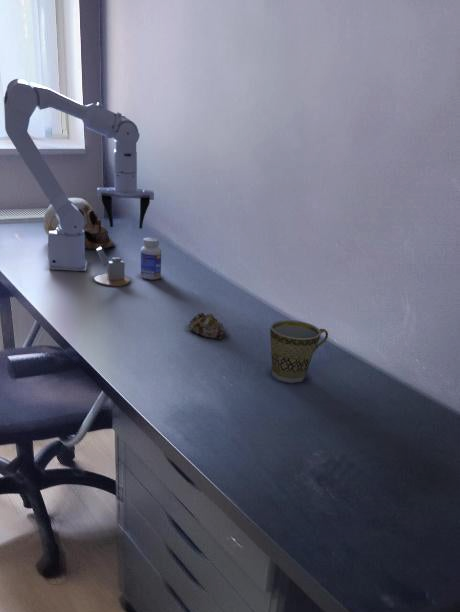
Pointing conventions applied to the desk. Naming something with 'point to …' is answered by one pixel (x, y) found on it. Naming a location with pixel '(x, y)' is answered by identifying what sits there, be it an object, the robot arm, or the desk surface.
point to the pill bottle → (150, 259)
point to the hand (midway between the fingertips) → (126, 226)
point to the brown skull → (92, 229)
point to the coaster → (105, 281)
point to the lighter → (112, 266)
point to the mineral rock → (207, 326)
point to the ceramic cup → (293, 348)
